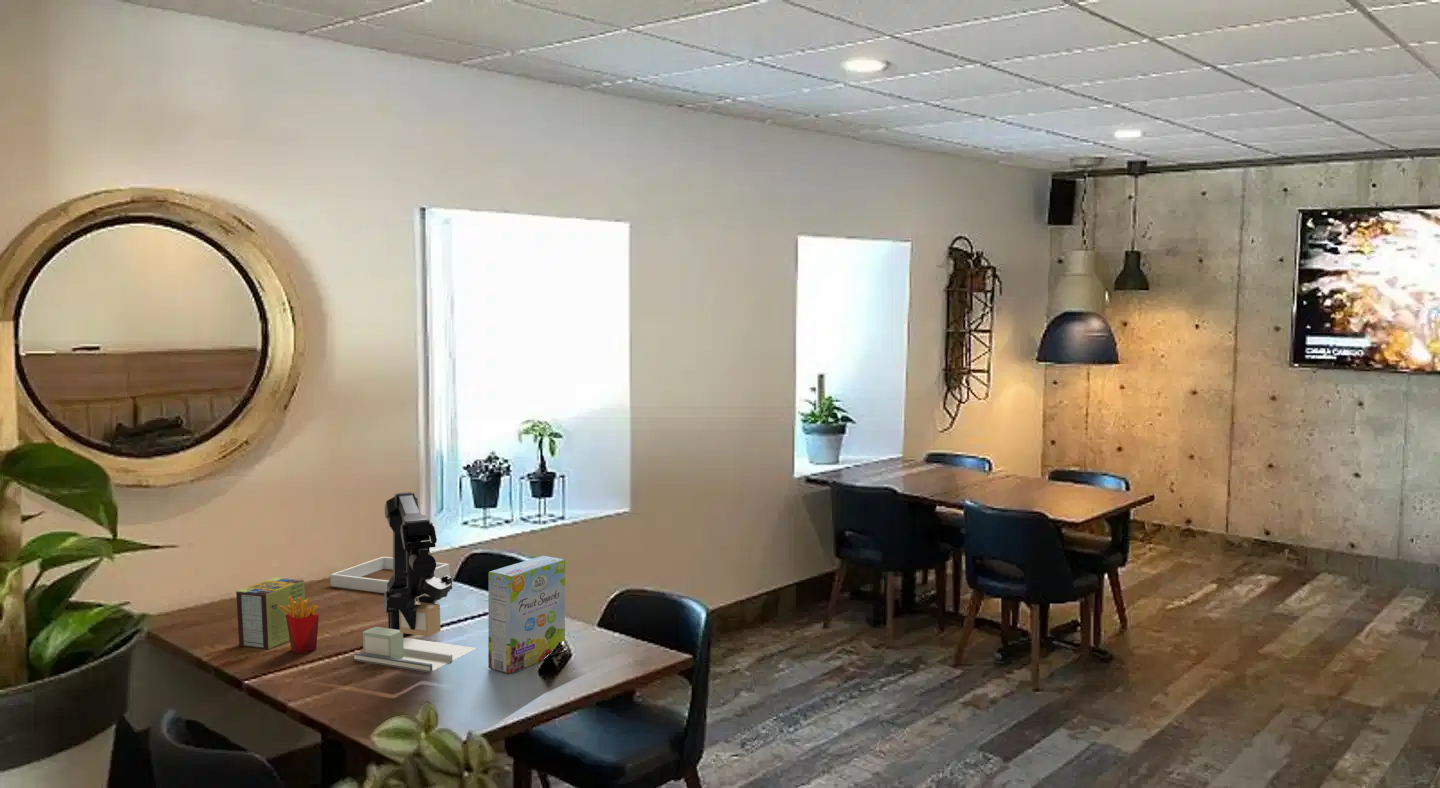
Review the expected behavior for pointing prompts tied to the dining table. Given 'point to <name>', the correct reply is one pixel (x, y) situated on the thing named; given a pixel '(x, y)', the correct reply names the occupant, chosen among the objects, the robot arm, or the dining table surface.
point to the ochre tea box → (423, 620)
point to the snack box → (525, 612)
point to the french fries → (302, 625)
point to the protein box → (266, 611)
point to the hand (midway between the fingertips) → (419, 626)
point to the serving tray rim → (354, 578)
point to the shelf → (419, 655)
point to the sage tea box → (383, 642)
